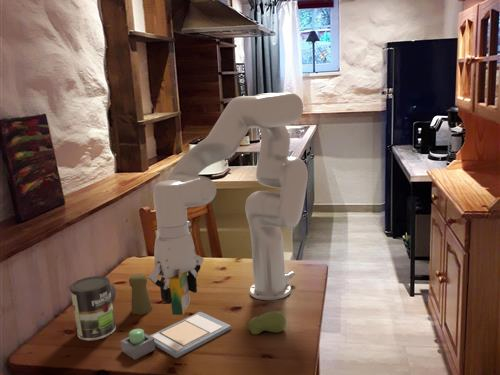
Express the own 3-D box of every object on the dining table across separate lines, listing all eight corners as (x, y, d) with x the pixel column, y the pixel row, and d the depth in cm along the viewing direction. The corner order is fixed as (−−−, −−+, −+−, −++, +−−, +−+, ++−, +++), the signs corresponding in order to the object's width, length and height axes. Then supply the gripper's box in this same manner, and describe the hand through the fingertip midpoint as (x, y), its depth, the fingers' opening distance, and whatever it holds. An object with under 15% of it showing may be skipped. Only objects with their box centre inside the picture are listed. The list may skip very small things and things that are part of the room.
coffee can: (124, 326, 141) (117, 279, 137) (95, 344, 132) (87, 294, 129) (98, 319, 146) (91, 273, 143) (69, 335, 138) (61, 287, 134)
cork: (147, 315, 146) (143, 279, 144) (128, 314, 148) (123, 279, 145) (155, 305, 152) (151, 271, 150) (136, 305, 153) (132, 271, 151)
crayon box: (179, 302, 134) (175, 260, 132) (190, 302, 134) (186, 260, 131) (171, 315, 127) (166, 271, 125) (183, 315, 127) (178, 271, 124)
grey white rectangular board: (200, 314, 144) (200, 310, 144) (231, 329, 135) (230, 324, 135) (146, 340, 132) (146, 336, 132) (176, 358, 123) (175, 353, 123)
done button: (140, 339, 130) (138, 327, 129) (148, 344, 127) (146, 331, 126) (127, 345, 127) (126, 332, 127) (135, 350, 125) (133, 337, 124)
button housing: (142, 341, 132) (141, 331, 131) (155, 349, 127) (154, 338, 127) (122, 351, 128) (120, 340, 127) (134, 359, 124) (133, 348, 123)
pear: (283, 316, 128) (245, 322, 130) (287, 334, 129) (250, 341, 131) (283, 305, 134) (247, 312, 135) (288, 323, 135) (252, 330, 136)
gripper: (191, 219, 134) (197, 281, 138) (134, 236, 123) (142, 304, 127) (209, 224, 129) (215, 289, 133) (152, 242, 117) (159, 313, 121)
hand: (179, 296), depth 130 cm, fingers closed on crayon box, 7 cm apart
